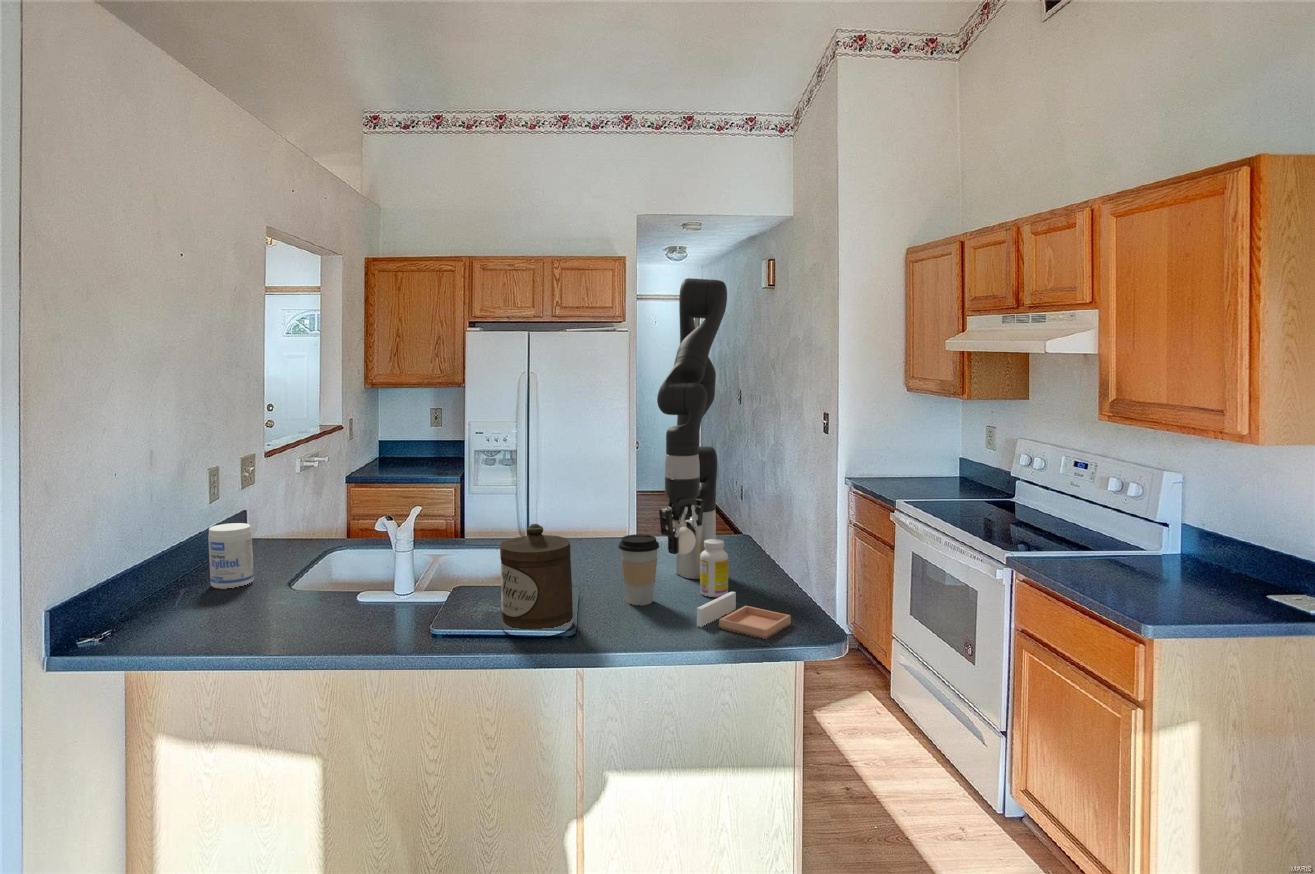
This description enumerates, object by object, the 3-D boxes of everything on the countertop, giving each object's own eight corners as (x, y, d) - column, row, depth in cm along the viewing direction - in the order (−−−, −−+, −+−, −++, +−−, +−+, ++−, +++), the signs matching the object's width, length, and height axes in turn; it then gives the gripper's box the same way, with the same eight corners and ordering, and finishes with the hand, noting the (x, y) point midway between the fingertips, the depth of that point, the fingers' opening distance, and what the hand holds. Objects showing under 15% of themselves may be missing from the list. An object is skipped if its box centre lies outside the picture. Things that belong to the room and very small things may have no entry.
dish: (719, 628, 170) (719, 619, 170) (745, 614, 179) (745, 605, 179) (765, 639, 164) (765, 630, 163) (790, 624, 172) (790, 615, 172)
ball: (662, 554, 178) (662, 528, 177) (678, 548, 182) (678, 522, 182) (685, 559, 174) (685, 532, 173) (701, 553, 179) (701, 526, 178)
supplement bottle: (731, 591, 196) (731, 539, 194) (724, 599, 189) (724, 545, 188) (704, 588, 198) (704, 536, 196) (696, 596, 192) (696, 543, 190)
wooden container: (490, 624, 173) (487, 523, 171) (550, 610, 182) (549, 514, 180) (523, 644, 162) (520, 536, 159) (586, 628, 171) (584, 526, 168)
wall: (696, 626, 172) (696, 608, 171) (731, 608, 183) (731, 591, 182) (701, 627, 171) (701, 609, 170) (735, 609, 182) (735, 592, 182)
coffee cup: (666, 598, 190) (666, 535, 189) (648, 610, 182) (648, 545, 180) (630, 593, 194) (629, 531, 192) (611, 605, 186) (610, 540, 184)
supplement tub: (208, 592, 197) (204, 532, 195) (213, 581, 205) (209, 524, 204) (253, 587, 200) (249, 528, 199) (255, 577, 209) (252, 521, 207)
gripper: (686, 468, 184) (686, 540, 186) (648, 477, 172) (648, 554, 175) (714, 471, 179) (714, 545, 182) (677, 481, 168) (677, 560, 170)
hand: (682, 549), depth 178 cm, fingers closed on ball, 6 cm apart
